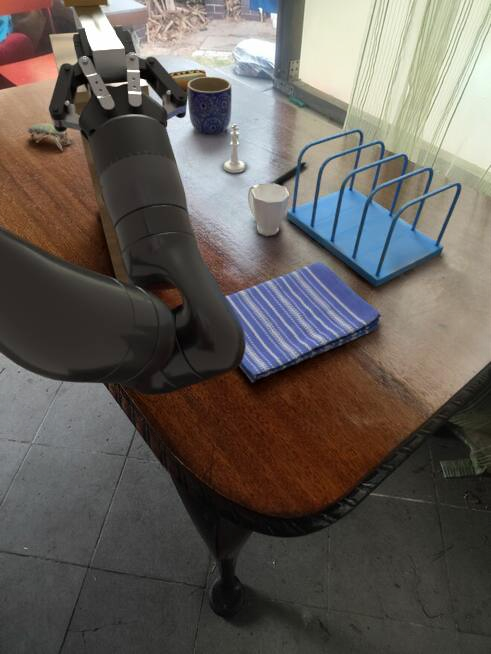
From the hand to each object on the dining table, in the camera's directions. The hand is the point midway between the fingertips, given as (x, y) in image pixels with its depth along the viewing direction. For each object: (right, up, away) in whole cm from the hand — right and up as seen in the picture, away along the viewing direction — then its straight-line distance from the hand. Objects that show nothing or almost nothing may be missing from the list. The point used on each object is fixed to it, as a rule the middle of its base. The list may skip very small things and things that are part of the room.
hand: (100, 34), depth 46 cm
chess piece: (+12, +7, +59) cm, 61 cm away
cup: (+18, -10, +43) cm, 48 cm away
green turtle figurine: (-33, +15, +65) cm, 75 cm away
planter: (+6, +22, +73) cm, 76 cm away
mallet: (-2, +2, +6) cm, 6 cm away
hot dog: (-3, +42, +92) cm, 101 cm away
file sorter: (+37, -12, +42) cm, 57 cm away
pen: (+24, +4, +56) cm, 62 cm away
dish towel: (+22, -29, +26) cm, 44 cm away
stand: (-7, -14, +38) cm, 41 cm away
